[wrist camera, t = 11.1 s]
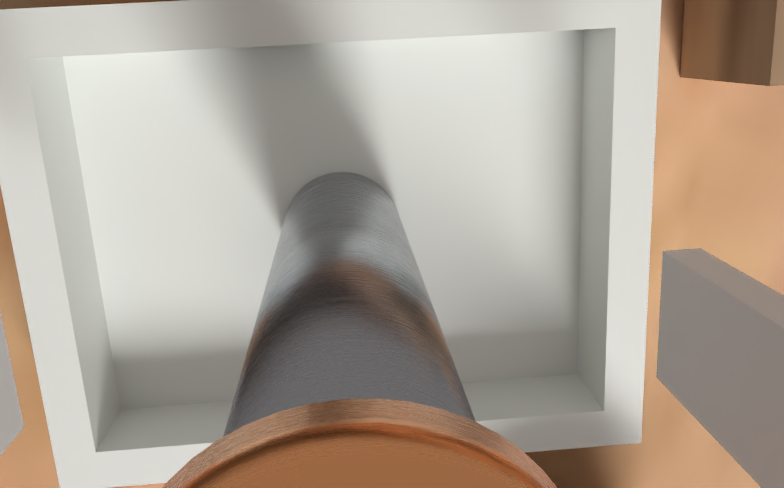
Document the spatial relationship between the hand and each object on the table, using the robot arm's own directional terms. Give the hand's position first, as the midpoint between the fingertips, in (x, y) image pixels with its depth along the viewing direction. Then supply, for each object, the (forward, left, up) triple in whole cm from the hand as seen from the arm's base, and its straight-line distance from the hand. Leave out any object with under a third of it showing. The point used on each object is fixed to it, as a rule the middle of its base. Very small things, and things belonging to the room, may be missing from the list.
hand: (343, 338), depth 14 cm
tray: (0, 0, -10) cm, 10 cm away
